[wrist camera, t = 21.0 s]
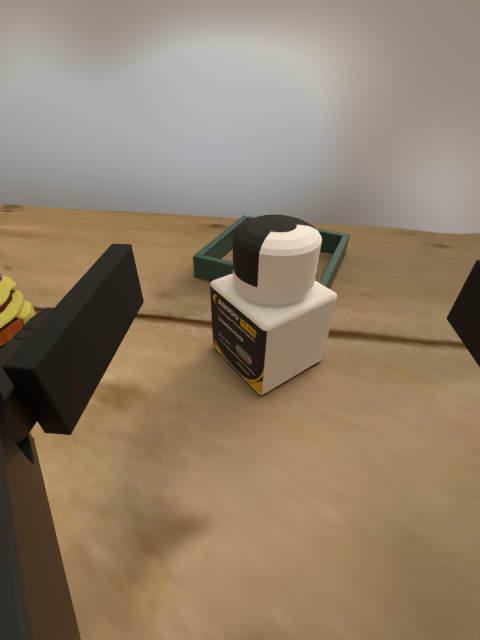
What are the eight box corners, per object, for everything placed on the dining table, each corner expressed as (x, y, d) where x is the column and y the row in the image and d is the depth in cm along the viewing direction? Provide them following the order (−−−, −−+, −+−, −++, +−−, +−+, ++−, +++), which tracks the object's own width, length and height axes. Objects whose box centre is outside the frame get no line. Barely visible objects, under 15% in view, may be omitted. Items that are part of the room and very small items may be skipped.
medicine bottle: (211, 346, 30) (204, 219, 22) (271, 319, 33) (282, 200, 25) (260, 398, 25) (271, 260, 18) (323, 360, 28) (355, 230, 21)
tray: (345, 253, 45) (350, 234, 43) (320, 309, 34) (325, 287, 33) (243, 233, 50) (243, 215, 48) (194, 276, 39) (192, 256, 38)
